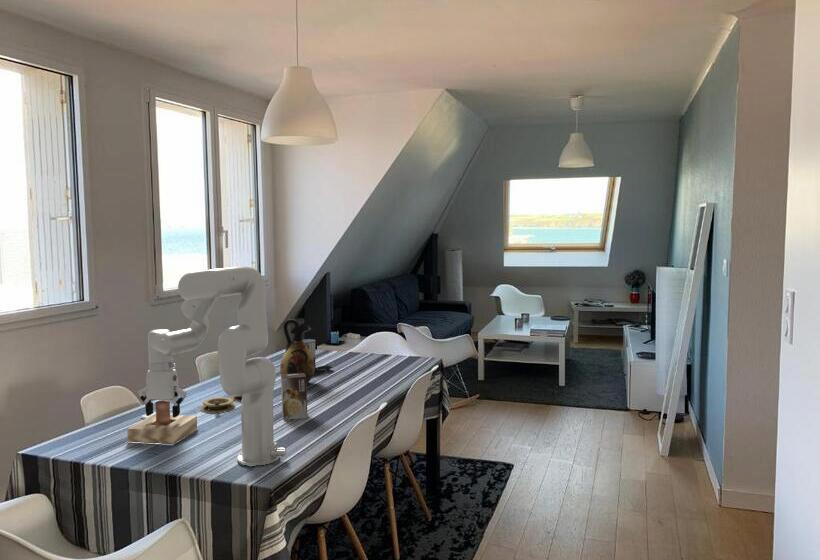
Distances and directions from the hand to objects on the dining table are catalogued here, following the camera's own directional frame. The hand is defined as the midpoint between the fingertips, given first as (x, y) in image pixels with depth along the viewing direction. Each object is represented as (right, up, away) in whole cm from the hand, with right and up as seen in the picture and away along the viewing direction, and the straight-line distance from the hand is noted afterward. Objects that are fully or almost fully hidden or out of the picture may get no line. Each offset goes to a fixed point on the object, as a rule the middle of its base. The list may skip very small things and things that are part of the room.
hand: (162, 415), depth 206 cm
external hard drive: (-9, -6, +20) cm, 23 cm away
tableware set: (+12, -5, +40) cm, 42 cm away
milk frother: (+37, +1, +94) cm, 101 cm away
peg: (0, -7, +1) cm, 7 cm away
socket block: (0, -7, +1) cm, 7 cm away
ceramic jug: (+33, -1, +67) cm, 75 cm away
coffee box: (+41, -6, +22) cm, 46 cm away
